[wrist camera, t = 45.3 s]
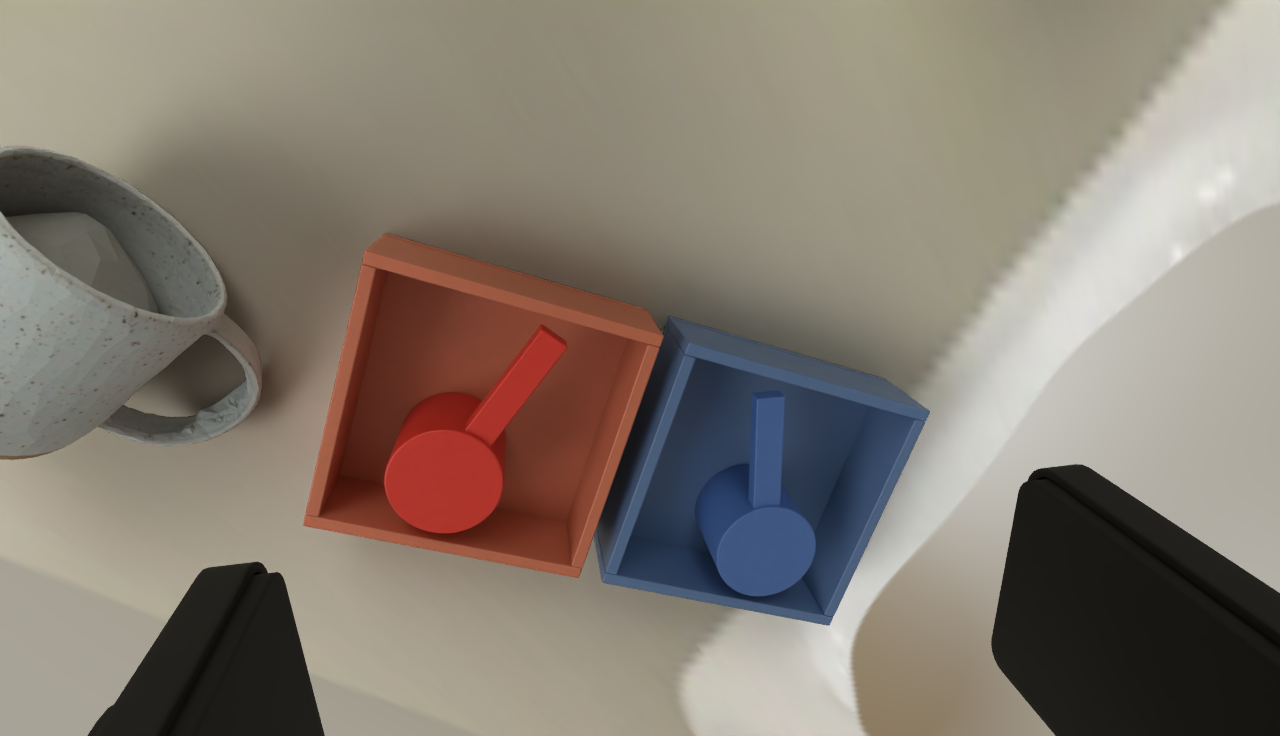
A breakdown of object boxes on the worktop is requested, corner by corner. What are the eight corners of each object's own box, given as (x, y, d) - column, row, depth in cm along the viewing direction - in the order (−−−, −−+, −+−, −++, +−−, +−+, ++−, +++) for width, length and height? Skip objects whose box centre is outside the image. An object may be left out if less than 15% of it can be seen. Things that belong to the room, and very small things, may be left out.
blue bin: (668, 315, 31) (688, 342, 28) (885, 378, 34) (930, 411, 30) (592, 532, 34) (601, 583, 30) (798, 574, 37) (829, 626, 33)
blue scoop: (782, 540, 35) (813, 590, 32) (694, 550, 35) (715, 602, 31) (791, 363, 32) (826, 395, 29) (695, 370, 32) (719, 404, 28)
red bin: (384, 232, 28) (364, 250, 25) (646, 309, 31) (664, 335, 27) (328, 477, 31) (302, 526, 27) (572, 527, 34) (579, 578, 30)
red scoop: (467, 502, 32) (460, 553, 28) (379, 451, 31) (360, 498, 27) (593, 341, 31) (603, 373, 27) (506, 280, 29) (504, 304, 25)
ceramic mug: (-66, 292, 26) (-279, 362, 19) (78, 134, 26) (-88, 146, 18) (189, 469, 30) (91, 582, 23) (323, 337, 29) (264, 412, 22)
